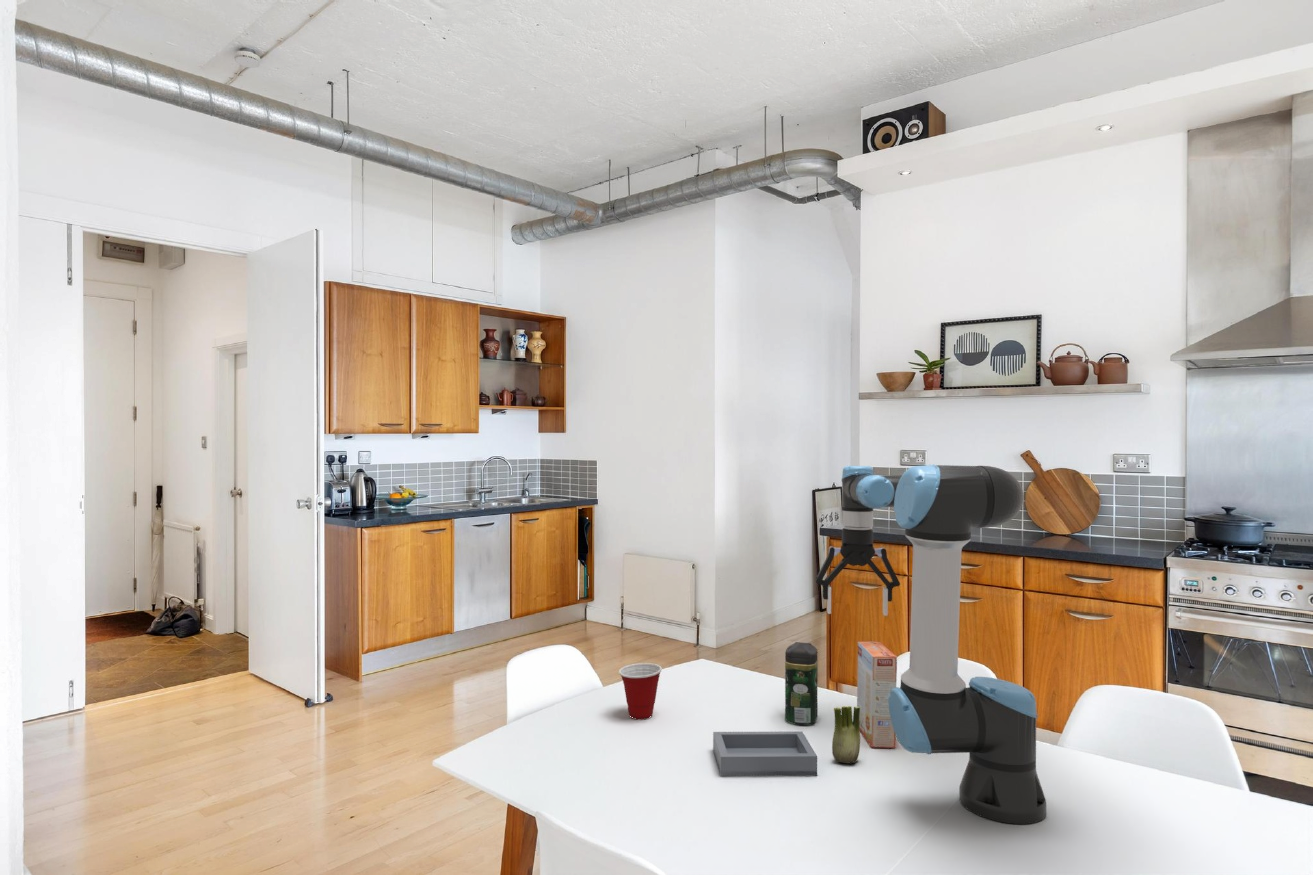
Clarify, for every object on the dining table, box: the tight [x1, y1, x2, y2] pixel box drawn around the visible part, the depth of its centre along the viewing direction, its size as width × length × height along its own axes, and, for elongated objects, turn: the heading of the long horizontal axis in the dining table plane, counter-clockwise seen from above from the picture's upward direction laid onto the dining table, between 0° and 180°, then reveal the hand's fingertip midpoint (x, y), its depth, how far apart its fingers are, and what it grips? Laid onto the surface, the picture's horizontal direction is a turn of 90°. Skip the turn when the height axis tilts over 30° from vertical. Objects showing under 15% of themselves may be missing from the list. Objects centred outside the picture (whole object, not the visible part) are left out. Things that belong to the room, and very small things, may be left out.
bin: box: [712, 730, 818, 777], centre depth 169 cm, size 14×20×4 cm
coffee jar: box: [784, 641, 819, 726], centre depth 196 cm, size 10×8×19 cm
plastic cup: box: [618, 662, 663, 720], centre depth 197 cm, size 11×11×12 cm
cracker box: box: [856, 640, 898, 749], centre depth 184 cm, size 14×6×21 cm, turn 179°
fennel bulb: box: [831, 705, 861, 764], centre depth 170 cm, size 6×5×12 cm
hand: (857, 613), depth 195 cm, fingers open, 13 cm apart
